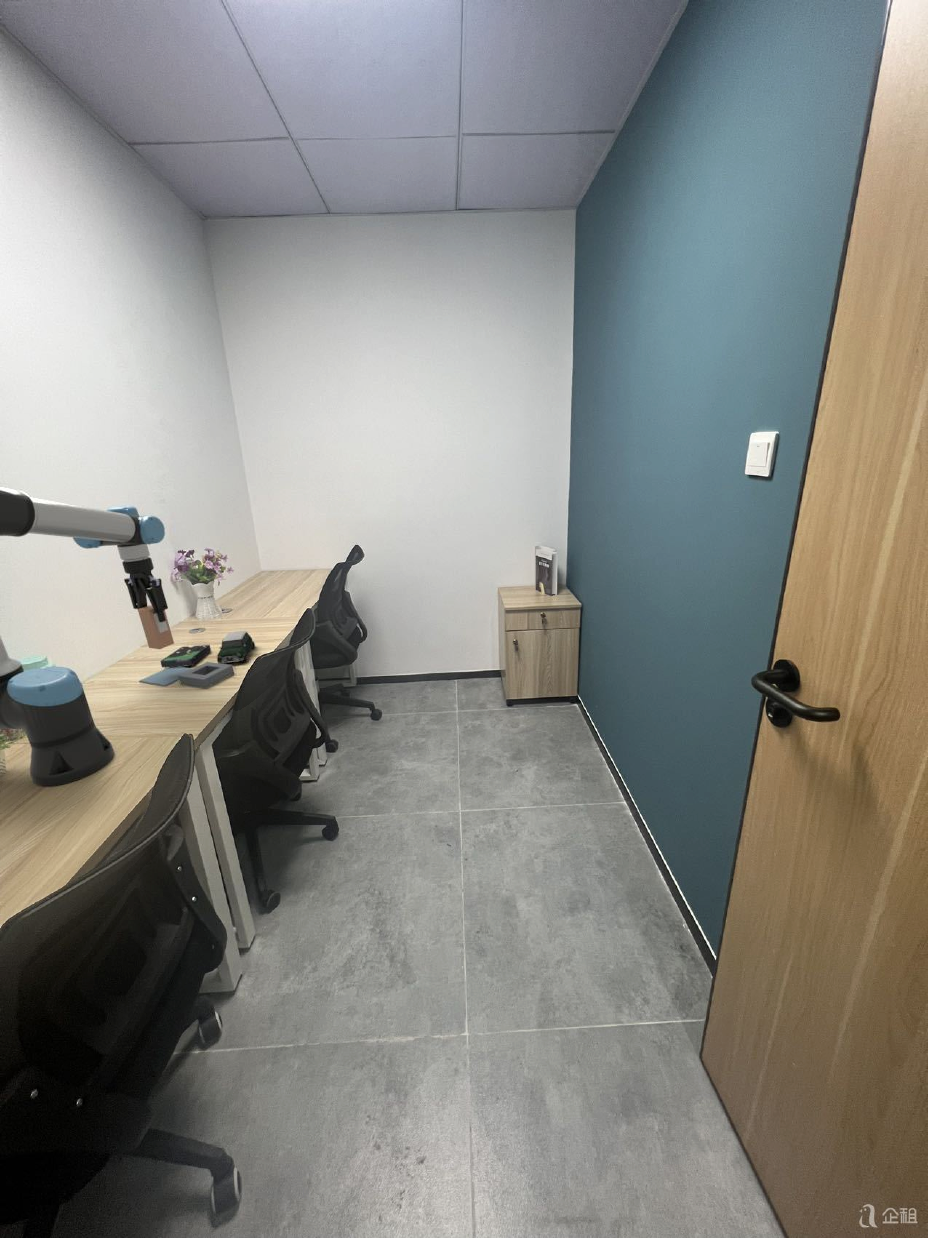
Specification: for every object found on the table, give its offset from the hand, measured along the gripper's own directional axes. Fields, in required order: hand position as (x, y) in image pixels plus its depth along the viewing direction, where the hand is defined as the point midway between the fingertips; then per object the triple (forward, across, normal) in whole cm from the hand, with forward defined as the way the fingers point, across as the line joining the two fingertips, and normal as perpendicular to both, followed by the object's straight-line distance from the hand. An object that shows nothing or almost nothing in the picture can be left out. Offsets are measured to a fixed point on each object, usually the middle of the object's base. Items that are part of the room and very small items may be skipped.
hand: (157, 630), depth 154 cm
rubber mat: (+16, 0, 0) cm, 16 cm away
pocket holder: (+16, -15, -2) cm, 22 cm away
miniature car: (+17, -10, -19) cm, 27 cm away
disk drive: (+16, +6, -12) cm, 21 cm away
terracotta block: (+5, 0, 0) cm, 5 cm away
